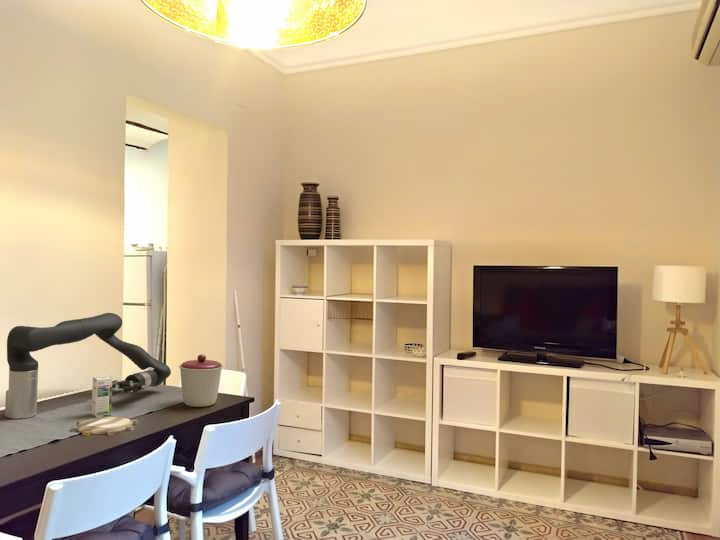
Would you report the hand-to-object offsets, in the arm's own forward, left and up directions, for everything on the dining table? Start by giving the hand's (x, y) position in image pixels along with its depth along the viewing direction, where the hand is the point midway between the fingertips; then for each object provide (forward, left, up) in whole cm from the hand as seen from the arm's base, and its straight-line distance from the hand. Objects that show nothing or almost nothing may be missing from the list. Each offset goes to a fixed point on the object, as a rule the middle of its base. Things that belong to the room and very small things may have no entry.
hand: (114, 389), depth 219 cm
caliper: (-15, +26, -9) cm, 32 cm away
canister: (+27, +19, -8) cm, 34 cm away
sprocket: (+11, -21, -8) cm, 25 cm away
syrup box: (0, -8, -8) cm, 11 cm away
